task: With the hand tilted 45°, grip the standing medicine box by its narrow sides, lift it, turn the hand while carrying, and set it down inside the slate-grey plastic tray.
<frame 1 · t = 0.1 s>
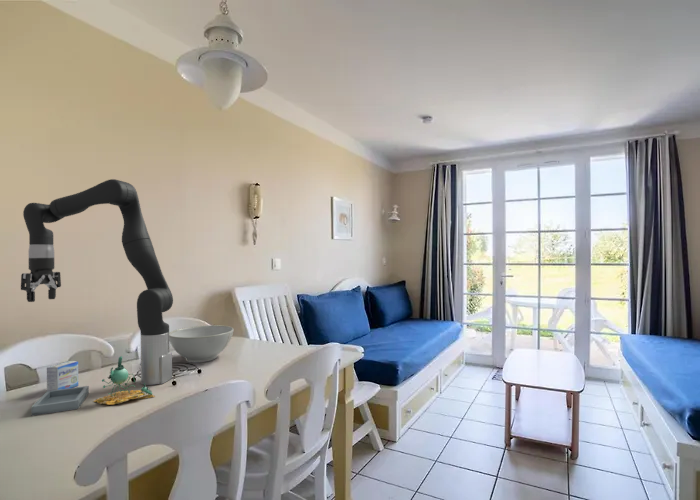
hand: (41, 300, 141), 29 cm above the table, fingers open, 8 cm apart
decorative bowl: (201, 359, 166), on the table
tray: (62, 403, 116), on the table
medicine box: (63, 390, 129), on the table
frog figurine: (123, 401, 118), on the table
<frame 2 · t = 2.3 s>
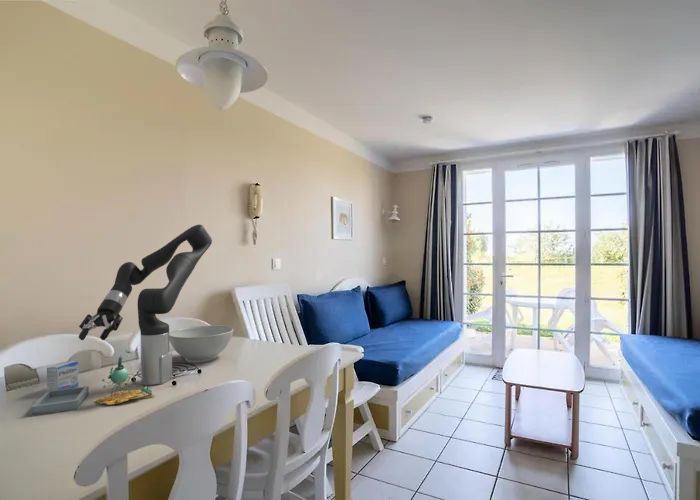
hand: (91, 339, 142), 14 cm above the table, fingers open, 8 cm apart
nothing on the table moved.
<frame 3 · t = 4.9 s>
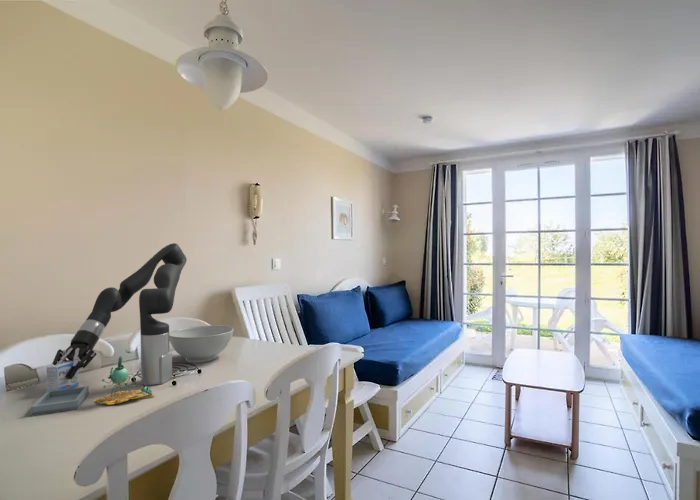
hand: (60, 377, 129), 4 cm above the table, fingers closed on medicine box, 4 cm apart
medicine box: (62, 389, 129), on the table, touching gripper
everything else where it was.
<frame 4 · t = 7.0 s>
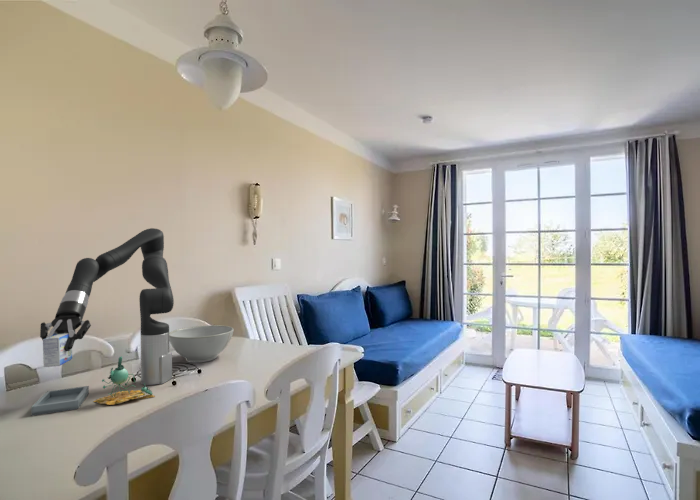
hand: (56, 350, 118), 16 cm above the table, fingers closed on medicine box, 4 cm apart
medicine box: (58, 363, 119), point 12 cm above the table, touching gripper
everything else where it was.
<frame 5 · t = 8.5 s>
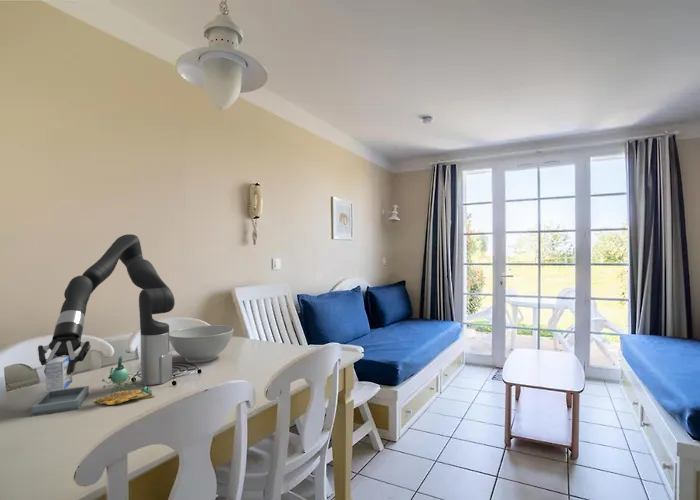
hand: (58, 374, 115), 9 cm above the table, fingers closed on medicine box, 4 cm apart
medicine box: (59, 387, 116), point 5 cm above the table, touching gripper
everything else where it was.
when the fingers open (6 cm above the table, at t = 9.6 s): medicine box drops 1 cm, resting on tray.
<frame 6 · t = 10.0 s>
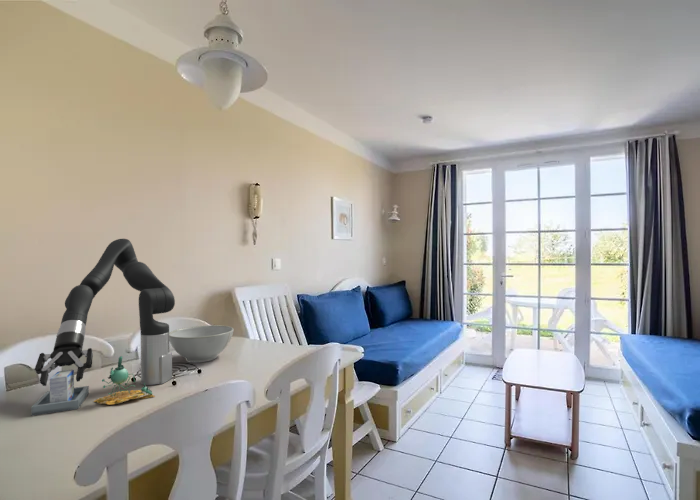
hand: (60, 382, 115), 7 cm above the table, fingers open, 8 cm apart
medicine box: (62, 402, 115), point 1 cm above the table, touching tray
everything else where it was.
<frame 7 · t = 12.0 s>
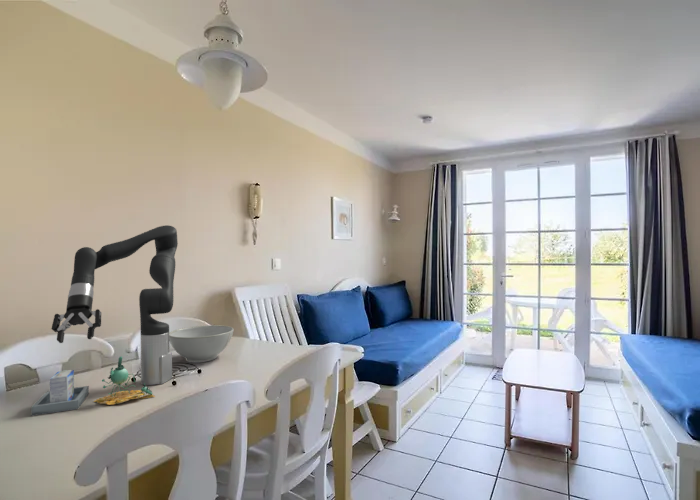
hand: (74, 340, 132), 16 cm above the table, fingers open, 8 cm apart
nothing on the table moved.
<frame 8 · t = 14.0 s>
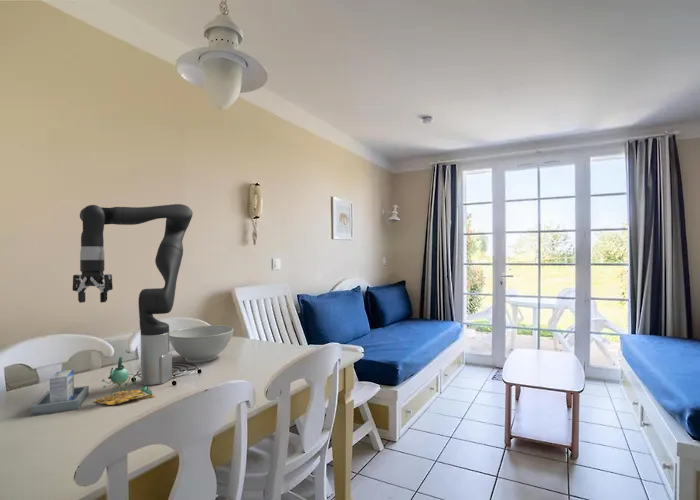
hand: (92, 302, 142), 28 cm above the table, fingers open, 8 cm apart
nothing on the table moved.
at the end: medicine box 1.0 cm from the tray (horizontally); medicine box point 0.6 cm above the table; medicine box tilted 0° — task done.
